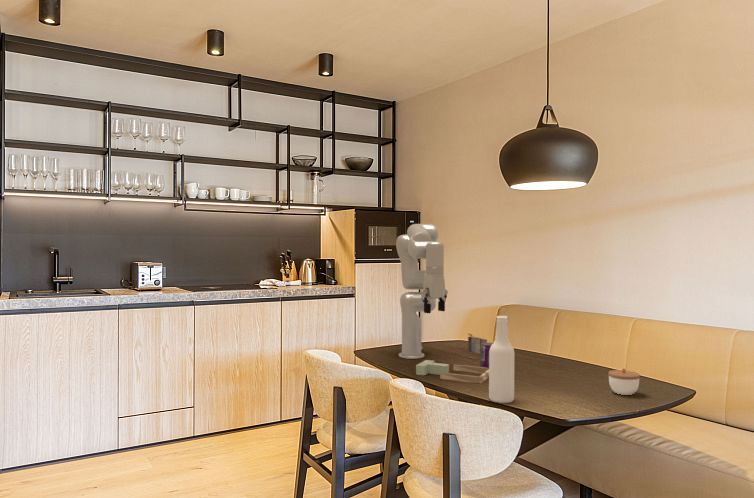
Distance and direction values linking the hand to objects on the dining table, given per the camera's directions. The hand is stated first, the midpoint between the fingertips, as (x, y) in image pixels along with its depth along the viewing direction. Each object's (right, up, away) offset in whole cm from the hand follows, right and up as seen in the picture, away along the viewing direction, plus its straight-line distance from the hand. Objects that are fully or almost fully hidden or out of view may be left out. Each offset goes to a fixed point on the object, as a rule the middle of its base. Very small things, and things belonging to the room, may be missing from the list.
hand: (434, 311), depth 241 cm
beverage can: (+25, -27, +9) cm, 38 cm away
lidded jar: (+68, -28, -27) cm, 78 cm away
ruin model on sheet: (+27, -27, +51) cm, 64 cm away
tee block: (0, -27, +5) cm, 27 cm away
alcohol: (+20, -28, -36) cm, 50 cm away
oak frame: (+13, -27, -1) cm, 30 cm away
